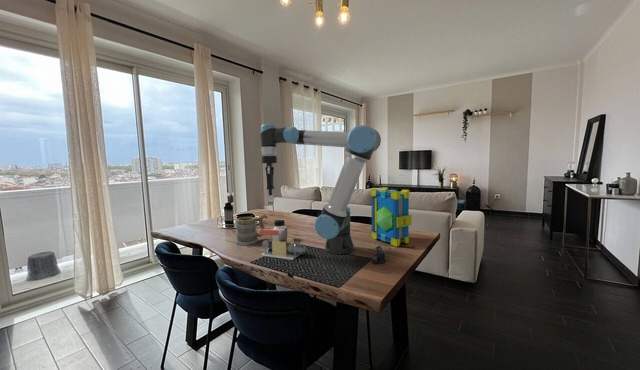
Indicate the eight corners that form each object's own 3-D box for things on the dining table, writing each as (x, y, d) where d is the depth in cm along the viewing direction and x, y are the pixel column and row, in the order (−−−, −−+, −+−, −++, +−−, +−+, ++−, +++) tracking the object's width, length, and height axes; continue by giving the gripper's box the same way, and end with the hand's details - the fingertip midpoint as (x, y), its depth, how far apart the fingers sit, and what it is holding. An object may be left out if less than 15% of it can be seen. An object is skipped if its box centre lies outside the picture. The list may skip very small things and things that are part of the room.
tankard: (238, 246, 151) (236, 220, 150) (233, 241, 162) (232, 216, 161) (272, 240, 161) (271, 216, 159) (265, 236, 172) (264, 212, 170)
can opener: (387, 266, 119) (387, 253, 118) (371, 265, 120) (371, 253, 120) (386, 252, 136) (386, 242, 136) (372, 252, 138) (372, 241, 137)
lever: (288, 237, 139) (287, 229, 138) (285, 240, 135) (284, 231, 135) (261, 236, 143) (260, 228, 142) (257, 238, 139) (257, 230, 138)
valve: (309, 251, 140) (308, 238, 139) (297, 260, 128) (297, 245, 127) (271, 247, 149) (271, 234, 148) (257, 254, 137) (256, 241, 136)
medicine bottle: (283, 241, 159) (283, 221, 158) (272, 240, 160) (271, 221, 159) (287, 238, 166) (286, 218, 165) (276, 237, 167) (275, 218, 166)
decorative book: (395, 248, 141) (395, 191, 138) (366, 238, 161) (365, 188, 158) (413, 244, 148) (414, 189, 145) (384, 234, 168) (384, 186, 165)
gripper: (263, 156, 144) (265, 199, 146) (259, 155, 131) (262, 203, 133) (277, 155, 144) (279, 199, 146) (275, 155, 131) (277, 203, 133)
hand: (271, 201), depth 139 cm, fingers closed
